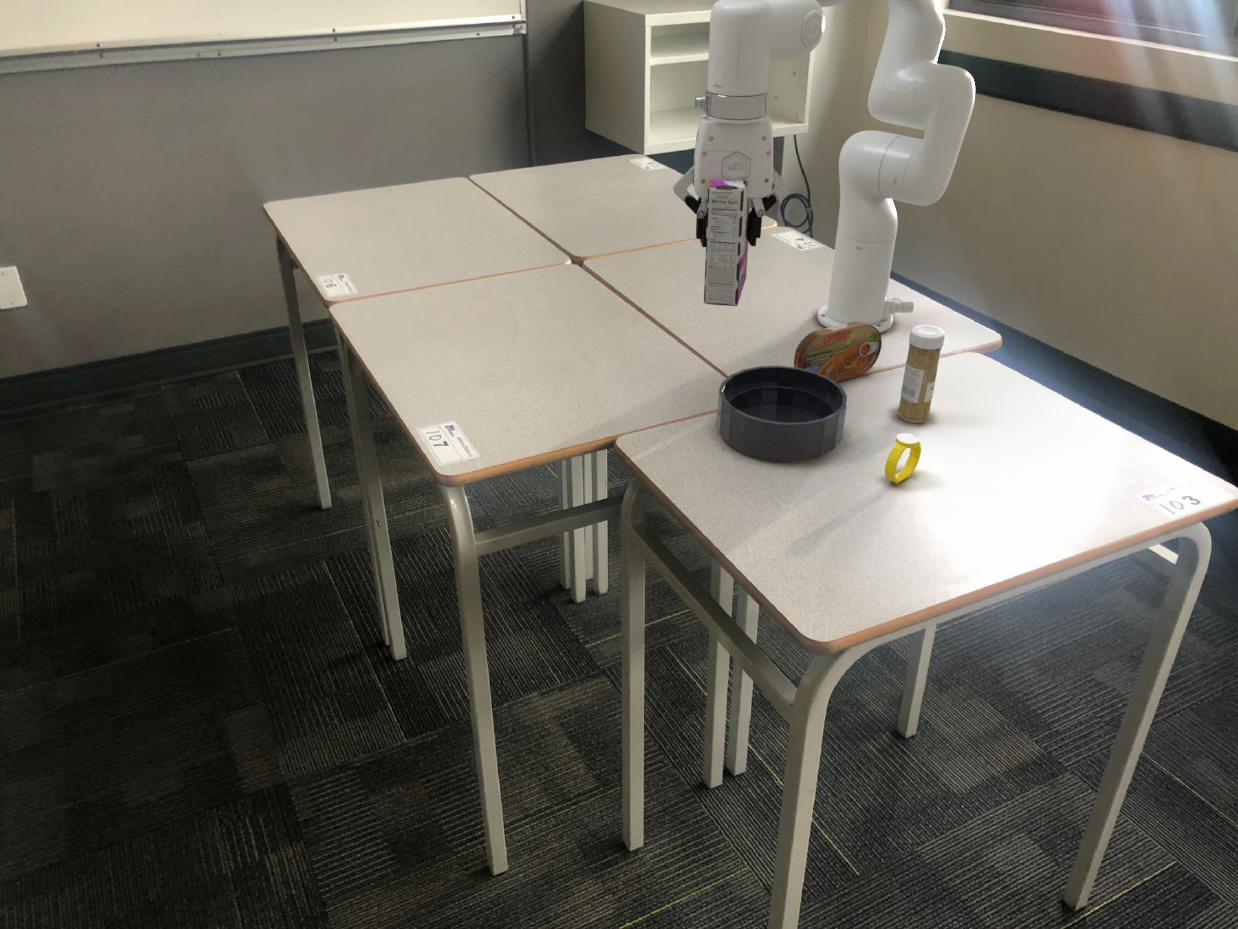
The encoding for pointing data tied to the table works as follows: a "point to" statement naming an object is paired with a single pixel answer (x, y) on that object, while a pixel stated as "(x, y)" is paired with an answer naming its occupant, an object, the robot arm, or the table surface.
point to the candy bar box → (726, 242)
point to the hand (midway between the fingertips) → (727, 242)
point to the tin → (840, 350)
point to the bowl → (781, 412)
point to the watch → (895, 454)
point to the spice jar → (920, 373)
